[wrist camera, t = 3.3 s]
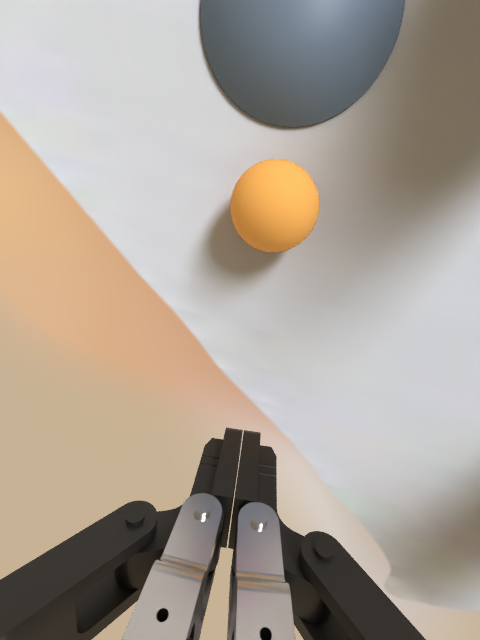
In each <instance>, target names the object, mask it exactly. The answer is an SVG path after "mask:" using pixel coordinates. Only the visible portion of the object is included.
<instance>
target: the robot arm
mask: <svg viewBox="0 0 480 640" xmlns="http://www.w3.org/2000/svg"><path fill="white" fill-rule="evenodd" d="M242 431H243V430H238V429H232V428H226V431H225V435H224V439H223V440H222V439H215V438H212V439H211V440H210V441H209V442H208V443H207V444H206V445H205V447H204V451H203V454H202V457H201V461H200V465H199V468H198V471H197V474H196V478H195V481H194V485H193V488H192V491H191V494H190V497H189V498H188V499H187V500H186V501H185V502H184V503H183V505H181V506H180V507H178V508H176V509H172V510H167V511H159V512H157V511H156V509H155V508H154V506H153V505H151V504H150V503H148V502H145V501H133V502H130V503H127V504H125V505H124V506H122V507H120V508H119V509H117V510H115V511H114V512H112V513H111V514H109V515H107V516H105V517H104V518H102V519H100V520H99V521H97V522H95V523H94V524H92V525H90V526H89V527H87V528H85V529H84V530H82V531H80V532H79V533H77V534H75V535H74V536H72V537H71V538H69V539H67V540H66V541H64V542H62V543H61V544H59V545H57V546H56V547H54V548H52V549H51V550H49V551H47V552H46V553H44V554H43V555H41V556H39V557H37V558H36V559H34V560H32V561H31V562H29V563H27V564H26V565H24V566H22V567H21V568H19V569H17V570H16V571H14V572H13V573H11V574H9V575H8V576H6V577H4V578H3V579H1V580H0V640H91V639H93V638H94V637H95V636H96V635H97V634H99V633H100V632H101V631H102V630H103V629H104V628H106V627H107V626H108V625H109V624H110V623H112V622H113V621H114V620H115V619H116V618H117V617H119V616H120V615H121V614H122V613H123V612H125V611H126V610H127V609H128V608H129V607H130V606H132V605H133V604H134V603H135V602H136V601H137V604H136V606H135V609H134V611H133V613H132V616H131V618H130V621H129V623H128V625H127V628H126V630H125V633H124V635H123V637H122V640H199V638H200V633H201V628H202V624H203V620H204V616H205V612H206V608H207V603H208V599H209V595H210V591H211V586H212V583H213V578H214V574H215V569H216V565H217V563H218V560H219V553H220V548H221V547H225V548H226V546H227V539H228V532H229V525H230V518H231V511H232V504H233V497H234V490H235V483H236V477H237V469H238V461H239V454H240V447H241V438H242ZM276 498H277V497H276V455H275V453H274V451H273V449H272V448H271V447H267V446H261V445H260V433H258V432H252V431H245V430H244V434H243V441H242V449H241V456H240V463H239V470H238V478H237V484H236V492H235V500H234V507H233V514H232V522H231V530H230V538H229V546H228V548H231V549H234V550H233V558H232V566H231V574H230V593H229V614H228V632H227V640H295V630H294V625H295V626H296V628H297V629H298V631H299V633H300V634H301V636H302V637H303V639H304V640H426V639H424V637H423V636H422V635H421V634H420V633H419V632H418V630H417V629H416V628H415V627H414V626H413V625H412V624H411V623H410V622H409V620H408V619H407V618H406V617H405V616H404V615H403V614H402V613H401V611H399V609H398V608H397V607H396V606H395V605H394V604H393V602H391V600H390V599H389V598H388V597H387V596H386V595H385V594H384V593H383V591H382V590H381V589H380V588H379V587H378V586H377V585H376V583H375V582H374V581H373V580H372V579H371V578H370V577H369V576H368V575H367V573H366V572H365V571H364V570H363V569H362V568H361V567H360V566H359V564H358V563H357V562H356V561H355V560H354V559H353V558H352V557H351V555H350V554H349V553H348V552H347V551H346V550H345V549H344V548H343V547H342V546H341V544H340V543H339V542H338V541H337V540H336V539H335V538H333V537H332V536H330V535H329V534H327V533H324V532H319V531H314V532H310V533H308V534H307V535H305V537H304V536H302V535H300V534H298V533H296V532H294V531H292V530H291V529H289V528H288V527H287V526H286V525H284V524H283V522H282V521H281V519H280V518H279V516H278V513H277V507H276V506H277V503H276V502H277V499H276Z"/></svg>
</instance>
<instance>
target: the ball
mask: <svg viewBox="0 0 480 640" xmlns="http://www.w3.org/2000/svg"><path fill="white" fill-rule="evenodd" d="M230 210H231V217H232V221H233V224H234V227H235V229H236V231H237V232H238V234H239V235H240V236H241V238H242V239H243V240H244V241H245V242H247V243H248V244H249V245H251V246H252V247H254V248H256V249H258V250H261V251H266V252H281V251H285V250H288V249H291V248H293V247H295V246H296V245H298V244H299V243H301V242H302V241H303V240H304V239H305V238H306V237H307V236H308V235H309V233H310V232H311V230H312V229H313V227H314V225H315V223H316V220H317V217H318V212H319V196H318V192H317V188H316V186H315V183H314V181H313V180H312V178H311V177H310V175H309V174H308V173H307V172H306V171H305V170H304V169H303V168H302V167H300V166H299V165H297V164H295V163H293V162H291V161H287V160H283V159H270V160H265V161H262V162H259V163H257V164H255V165H253V166H252V167H250V168H249V169H248V170H247V171H246V172H245V173H244V174H243V175H242V176H241V177H240V179H239V180H238V182H237V183H236V185H235V188H234V190H233V193H232V197H231V204H230Z"/></svg>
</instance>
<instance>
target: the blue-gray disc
mask: <svg viewBox="0 0 480 640" xmlns="http://www.w3.org/2000/svg"><path fill="white" fill-rule="evenodd" d="M404 3H405V0H201V6H200V22H201V31H202V39H203V44H204V48H205V53H206V55H207V58H208V61H209V64H210V67H211V69H212V71H213V73H214V75H215V77H216V80H217V81H218V83H219V84H220V86H221V87H222V89H223V91H224V92H225V93H226V94H227V95H228V97H229V98H230V99H231V100H232V101H233V102H234V103H235V104H236V105H237V106H238V107H239V108H240V109H242V110H243V111H244V112H246V113H247V114H249V115H250V116H252V117H254V118H256V119H258V120H260V121H262V122H265V123H268V124H271V125H276V126H282V127H302V126H309V125H313V124H316V123H320V122H323V121H325V120H327V119H329V118H332V117H334V116H335V115H337V114H339V113H341V112H342V111H344V110H345V109H347V108H348V107H349V106H350V105H352V104H353V103H354V102H356V101H357V100H358V99H359V98H360V97H361V96H362V95H363V94H364V93H365V92H366V91H367V89H368V88H369V87H370V86H371V84H372V83H373V82H374V81H375V79H376V78H377V76H378V75H379V73H380V72H381V70H382V69H383V67H384V66H385V64H386V62H387V60H388V58H389V56H390V54H391V52H392V49H393V47H394V44H395V41H396V39H397V36H398V33H399V29H400V25H401V21H402V16H403V10H404Z"/></svg>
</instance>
